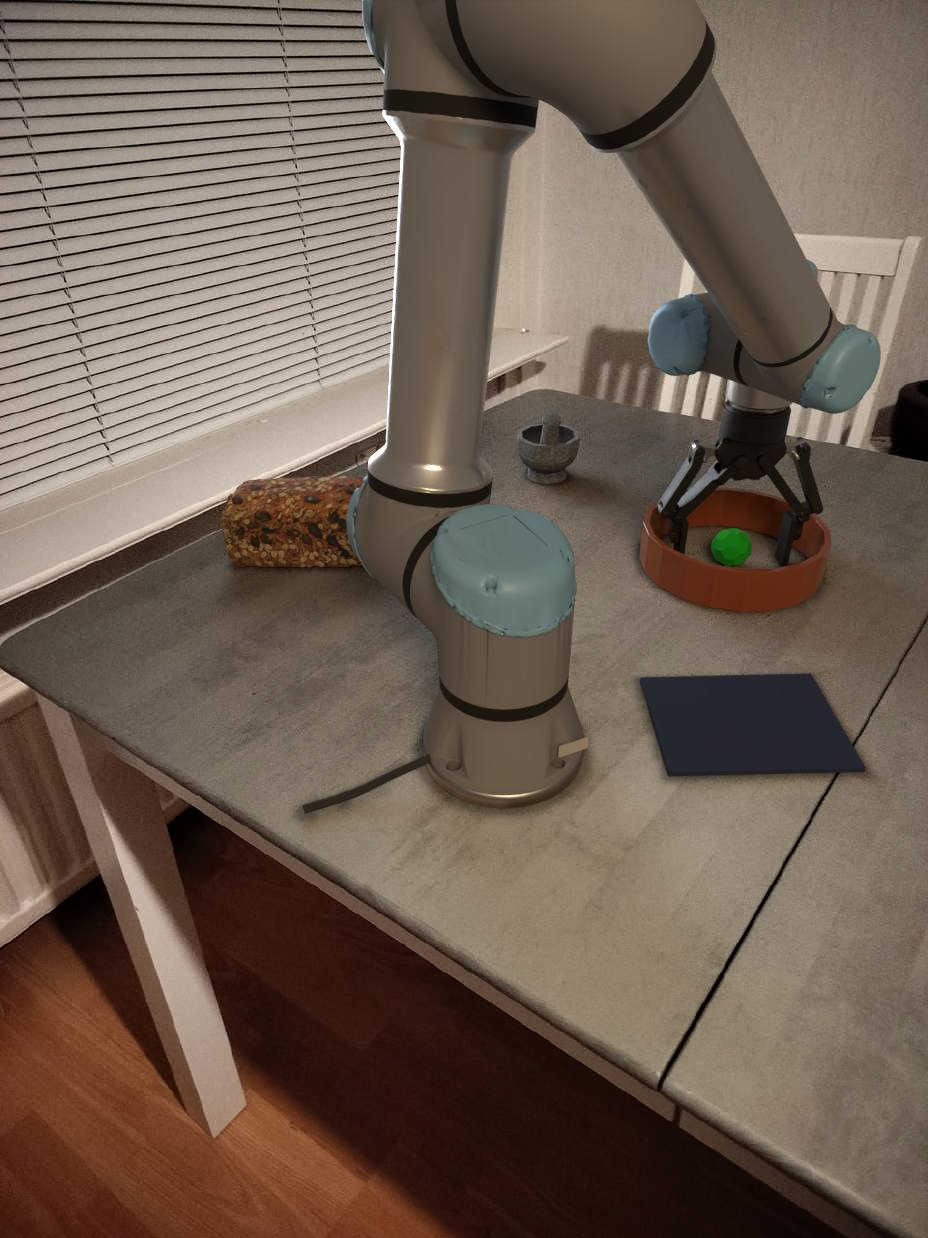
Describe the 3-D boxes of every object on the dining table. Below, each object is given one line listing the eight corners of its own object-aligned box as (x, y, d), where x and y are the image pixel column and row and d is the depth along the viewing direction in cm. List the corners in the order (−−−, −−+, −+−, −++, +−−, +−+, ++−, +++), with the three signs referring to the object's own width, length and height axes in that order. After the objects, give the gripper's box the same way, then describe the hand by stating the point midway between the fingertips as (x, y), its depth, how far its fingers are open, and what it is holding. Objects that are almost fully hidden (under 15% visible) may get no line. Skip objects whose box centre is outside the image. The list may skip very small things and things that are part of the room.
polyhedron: (721, 575, 105) (726, 542, 102) (701, 557, 108) (706, 525, 106) (756, 569, 106) (762, 536, 103) (735, 551, 109) (741, 519, 107)
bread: (379, 533, 116) (373, 467, 110) (366, 572, 107) (358, 503, 101) (250, 531, 117) (237, 466, 112) (226, 569, 109) (211, 500, 103)
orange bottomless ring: (659, 614, 98) (664, 574, 95) (626, 525, 116) (630, 489, 113) (850, 609, 98) (861, 569, 95) (786, 521, 116) (794, 485, 113)
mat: (668, 776, 76) (669, 772, 75) (639, 681, 87) (640, 677, 87) (864, 772, 76) (866, 767, 75) (809, 677, 87) (811, 673, 87)
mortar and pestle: (515, 463, 135) (516, 391, 128) (573, 462, 135) (577, 390, 128) (518, 493, 126) (520, 417, 119) (580, 492, 126) (585, 416, 119)
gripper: (852, 388, 98) (814, 545, 110) (643, 394, 98) (628, 550, 110) (879, 411, 92) (836, 574, 104) (656, 417, 92) (638, 579, 104)
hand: (729, 562), depth 107 cm, fingers open, 13 cm apart
